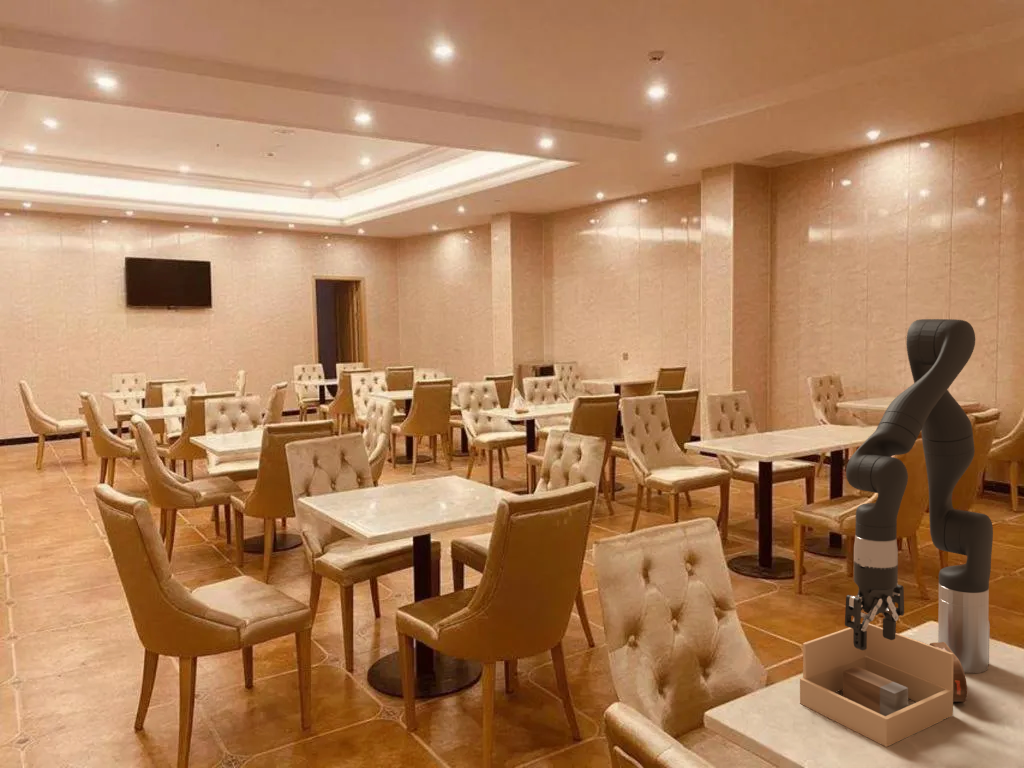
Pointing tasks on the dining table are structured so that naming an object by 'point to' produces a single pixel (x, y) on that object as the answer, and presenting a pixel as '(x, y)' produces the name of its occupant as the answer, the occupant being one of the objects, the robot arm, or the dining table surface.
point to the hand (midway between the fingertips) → (874, 643)
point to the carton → (889, 659)
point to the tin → (955, 675)
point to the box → (874, 691)
